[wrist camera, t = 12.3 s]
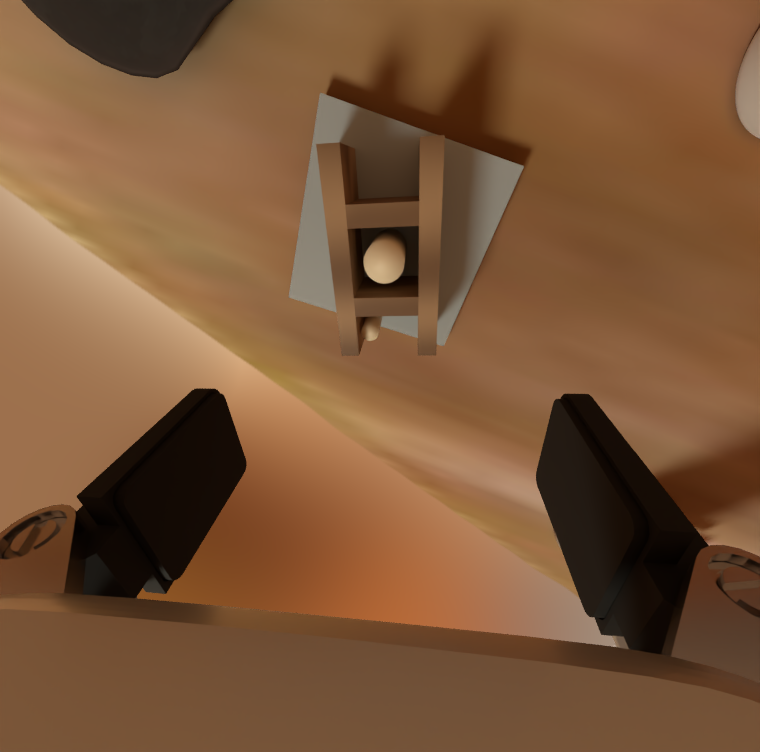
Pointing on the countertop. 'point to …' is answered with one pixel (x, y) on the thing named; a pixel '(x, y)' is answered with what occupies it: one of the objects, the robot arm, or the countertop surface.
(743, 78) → the pill bottle
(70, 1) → the black low round piece
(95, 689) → the robot arm
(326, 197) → the wooden h-shaped stand
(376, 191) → the base
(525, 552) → the countertop surface
